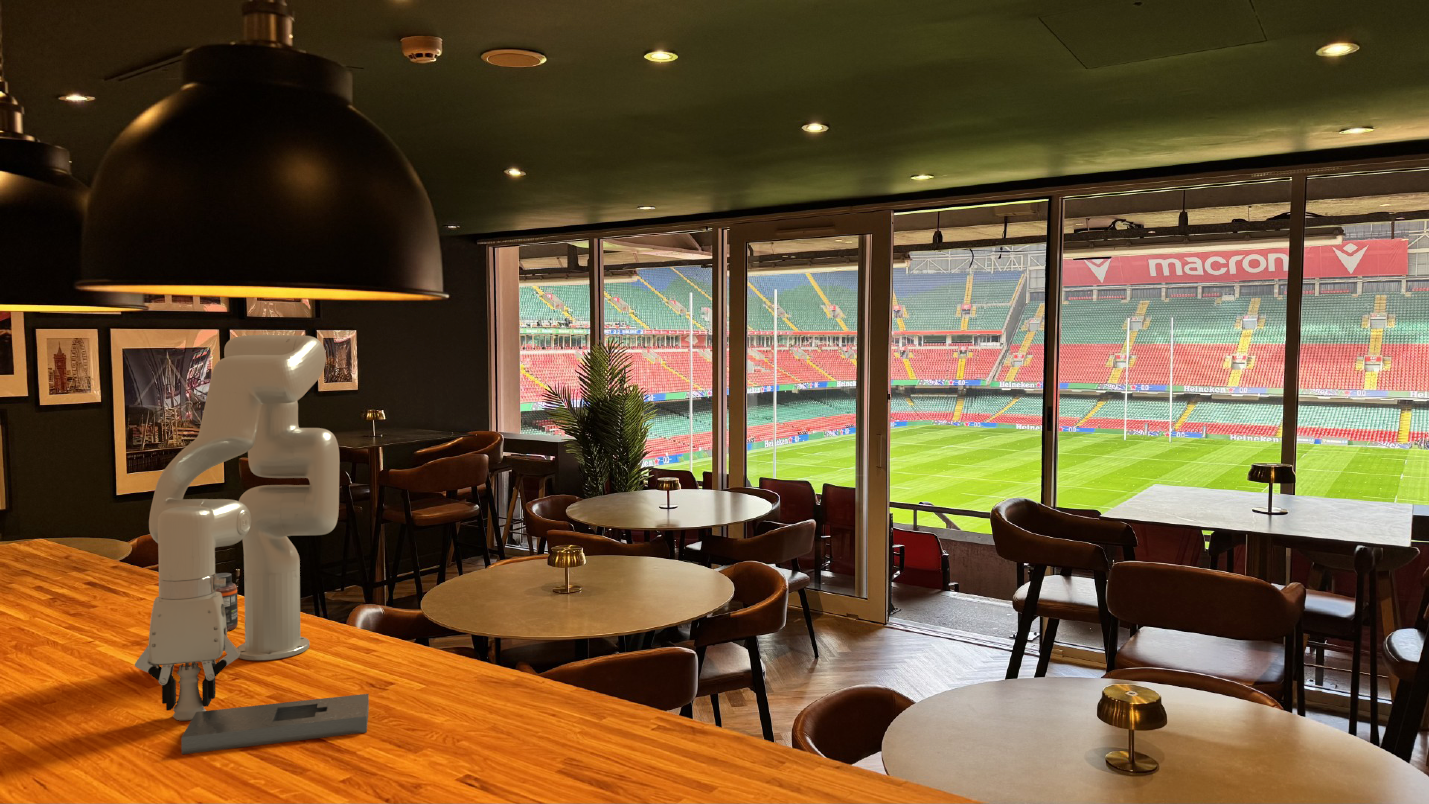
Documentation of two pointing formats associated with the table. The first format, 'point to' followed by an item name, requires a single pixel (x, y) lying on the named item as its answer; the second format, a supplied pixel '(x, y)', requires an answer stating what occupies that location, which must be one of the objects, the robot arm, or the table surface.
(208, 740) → the pocket plate
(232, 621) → the supplement bottle
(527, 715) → the table surface
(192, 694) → the rook chess piece
